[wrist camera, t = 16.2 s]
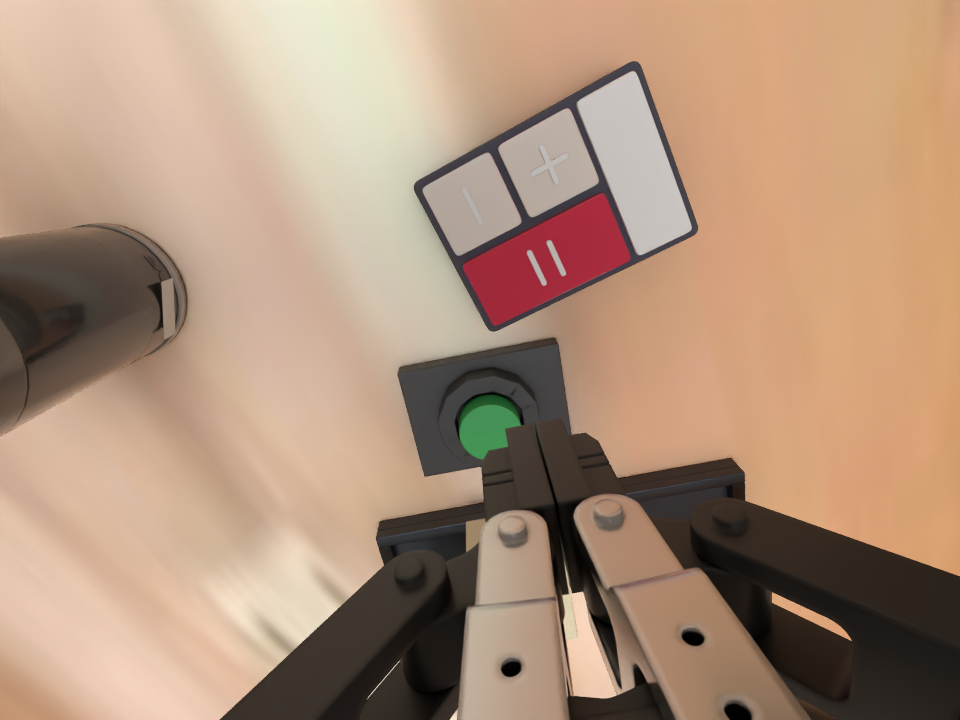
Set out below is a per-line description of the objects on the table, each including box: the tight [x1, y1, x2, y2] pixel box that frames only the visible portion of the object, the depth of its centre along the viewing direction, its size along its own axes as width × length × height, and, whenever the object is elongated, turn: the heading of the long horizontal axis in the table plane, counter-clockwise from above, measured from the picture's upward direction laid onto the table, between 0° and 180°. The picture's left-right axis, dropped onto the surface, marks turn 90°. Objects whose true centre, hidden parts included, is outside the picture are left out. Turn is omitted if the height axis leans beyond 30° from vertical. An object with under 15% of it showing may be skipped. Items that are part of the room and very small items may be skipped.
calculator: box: [414, 61, 698, 331], centre depth 34 cm, size 11×4×15 cm
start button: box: [459, 394, 521, 460], centre depth 37 cm, size 4×4×2 cm
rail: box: [376, 458, 745, 587], centre depth 44 cm, size 30×8×2 cm, turn 101°
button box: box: [398, 338, 571, 477], centre depth 39 cm, size 12×9×3 cm
